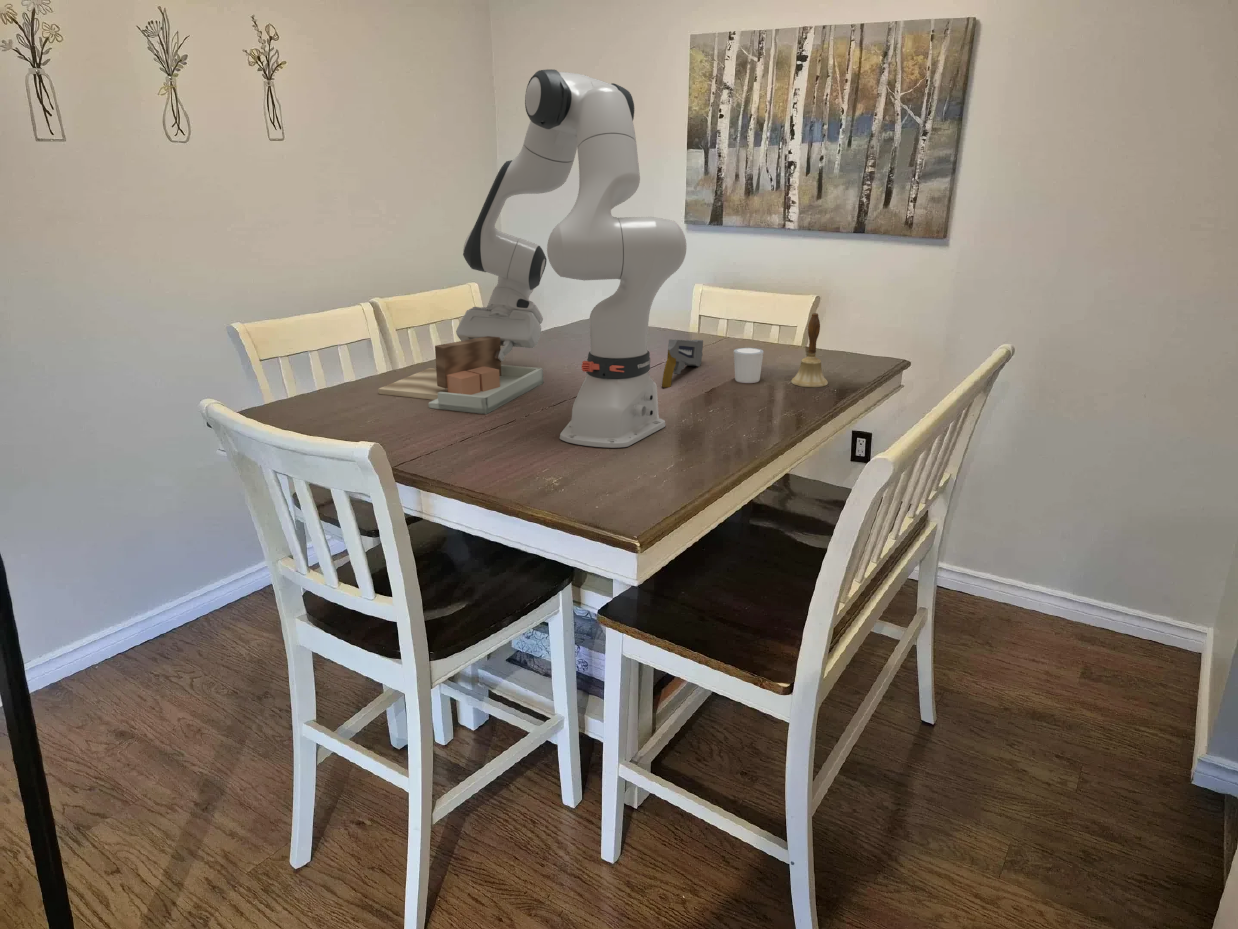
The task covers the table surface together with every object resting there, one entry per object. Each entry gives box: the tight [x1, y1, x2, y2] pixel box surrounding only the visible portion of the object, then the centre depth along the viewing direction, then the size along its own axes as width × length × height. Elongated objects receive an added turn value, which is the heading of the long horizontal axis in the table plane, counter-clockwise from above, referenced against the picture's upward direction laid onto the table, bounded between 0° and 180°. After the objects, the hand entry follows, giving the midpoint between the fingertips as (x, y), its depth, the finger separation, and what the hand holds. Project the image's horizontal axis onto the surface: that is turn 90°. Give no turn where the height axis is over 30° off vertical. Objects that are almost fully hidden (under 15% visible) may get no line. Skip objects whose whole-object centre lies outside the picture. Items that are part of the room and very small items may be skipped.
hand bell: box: [790, 312, 829, 388], centre depth 188 cm, size 8×8×16 cm
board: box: [377, 367, 448, 401], centre depth 192 cm, size 20×18×1 cm
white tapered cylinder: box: [733, 347, 764, 384], centre depth 192 cm, size 7×7×7 cm
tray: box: [428, 364, 544, 415], centre depth 184 cm, size 26×14×4 cm, turn 158°
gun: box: [661, 338, 704, 389], centre depth 198 cm, size 3×25×15 cm, turn 158°
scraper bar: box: [434, 336, 502, 388], centre depth 187 cm, size 16×3×9 cm, turn 139°
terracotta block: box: [447, 371, 480, 395], centre depth 182 cm, size 5×5×4 cm
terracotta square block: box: [467, 366, 500, 392], centre depth 186 cm, size 5×5×4 cm
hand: (488, 358), depth 190 cm, fingers closed on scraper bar, 4 cm apart
